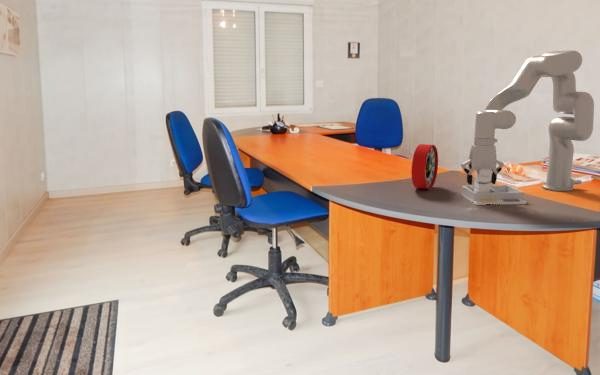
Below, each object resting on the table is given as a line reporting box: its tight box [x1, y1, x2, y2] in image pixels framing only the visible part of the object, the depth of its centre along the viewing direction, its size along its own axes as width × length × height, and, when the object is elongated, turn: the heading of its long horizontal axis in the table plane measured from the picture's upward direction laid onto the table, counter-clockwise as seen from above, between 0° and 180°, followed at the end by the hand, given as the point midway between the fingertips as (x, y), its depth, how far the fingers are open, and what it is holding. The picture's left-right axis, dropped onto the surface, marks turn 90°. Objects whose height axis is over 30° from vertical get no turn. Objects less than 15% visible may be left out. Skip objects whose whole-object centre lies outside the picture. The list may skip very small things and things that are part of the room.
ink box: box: [473, 169, 492, 193], centre depth 203 cm, size 9×5×12 cm, turn 173°
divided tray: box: [461, 184, 527, 206], centre depth 203 cm, size 20×17×4 cm
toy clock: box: [410, 143, 439, 190], centre depth 222 cm, size 20×6×20 cm, turn 149°
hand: (481, 183), depth 203 cm, fingers open, 9 cm apart
